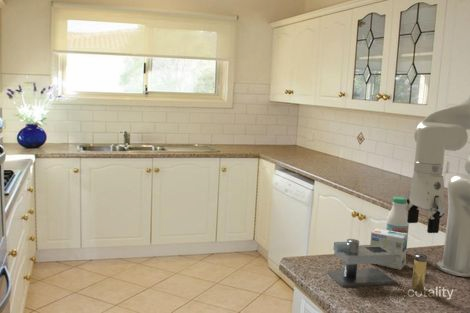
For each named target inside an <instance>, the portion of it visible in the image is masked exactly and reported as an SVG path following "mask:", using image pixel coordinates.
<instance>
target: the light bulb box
mask: <svg viewBox="0 0 470 313" xmlns="http://www.w3.org/2000/svg"><path fill="white" fill-rule="evenodd" d="M408 237H409V233H408V234H406V233H400V232H394V231H389V230H385V229H384V228H383V229H382V228H378V227H377V228H376V227H375V229H374V230H373V231H371V235H370V244H369V245H382V246H384V247H385V248H387V249H389V250H390V251H392V252H394V253H395V254H396V262H395V263H371V264H373V265H376V264H377V266H381V267H385V266H386V268H390V269H395V270H399V271H402V269H403V268H404V267H405V265H406V257H407V250H408V249H407V248H408V247H407V246H408V239H407V238H408Z"/></svg>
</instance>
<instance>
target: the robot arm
mask: <svg viewBox="0 0 470 313" xmlns="http://www.w3.org/2000/svg"><path fill="white" fill-rule="evenodd" d="M468 130H470V95H469V96H468V97H467V98H466V99H464V100H463V101H462V102H461V103H460V104H458V105H454V106H450V107H447V108H444V109H441V110H438V111H433V113H430V114H429V115H427V116H426V117H425V118H423V119H422V120H421V121H420V122H419V123H418V125H417V126H416V128H415V129H414V135H413V137H414V141H415V143H416V146H415V153H414V154H415V155H414V165H413V172H412V173H413V175H412V177H411V181H410V189H409V191H406V192H405V195H406V199H407V201H406V205H407V206H406V207H407V209H408V211H407V216H408V219H407V222H408V223H409V224H417V223H419V214H420V209H422V210H424V211H427V212H428V215H429V218H428V220H427V229H426V231H427V233H428V234H438V233H439V231H440V221H441V220H442V219H443V218H442V217H443V216H444V214H445V212H446V210H448V212H447V218H446V219H447V220H446V227H445V238H444V244H443V255H442V260H439V261H438V262H437V263H436V264H437V265H436V267H437V268H438V269H439V271H442V272H444V273H446V274H449V275H452V276H458V277H465V278H470V153H469V154H468V155H467V158H466V160H465V163H464V171H465V173H458V174H454V175H453V176H451V177H450V179H449V180H448V183H447V200H448V201H447V203H448V206H446V204H445V202H444V201H445V179H444V175H443V170H444V161H445V153H446V152H445V151H451V152H452V151H453V152H455V151H459V150H461V149H462V148H464V147H465V146H466V144H467V142H468V139H469V138H468V137H469V136H468V132H467V131H468ZM447 208H448V209H447Z"/></svg>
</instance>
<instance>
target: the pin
mask: <svg viewBox="0 0 470 313" xmlns="http://www.w3.org/2000/svg"><path fill="white" fill-rule="evenodd" d="M413 256H414V258H413V268H412V278H411V287H410V288H411V290H413V291H415V292H423V291H424V290H425V283H426V282H425V281H426V272H427V263H428V255H426V254H423V253H414V255H413Z"/></svg>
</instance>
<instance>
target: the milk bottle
mask: <svg viewBox="0 0 470 313" xmlns="http://www.w3.org/2000/svg"><path fill="white" fill-rule="evenodd" d="M406 205H407V197H403V196H393V197H392V207H391V209H390V211H389V213H388V214H387V217H386V220H385V227H384V228H385V229H384V230H389V231H394V232H400V233H406V234H408V235H409V225H410V223H408V222H407V219H408V212H407V210H406ZM407 240H408V238H407Z"/></svg>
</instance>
